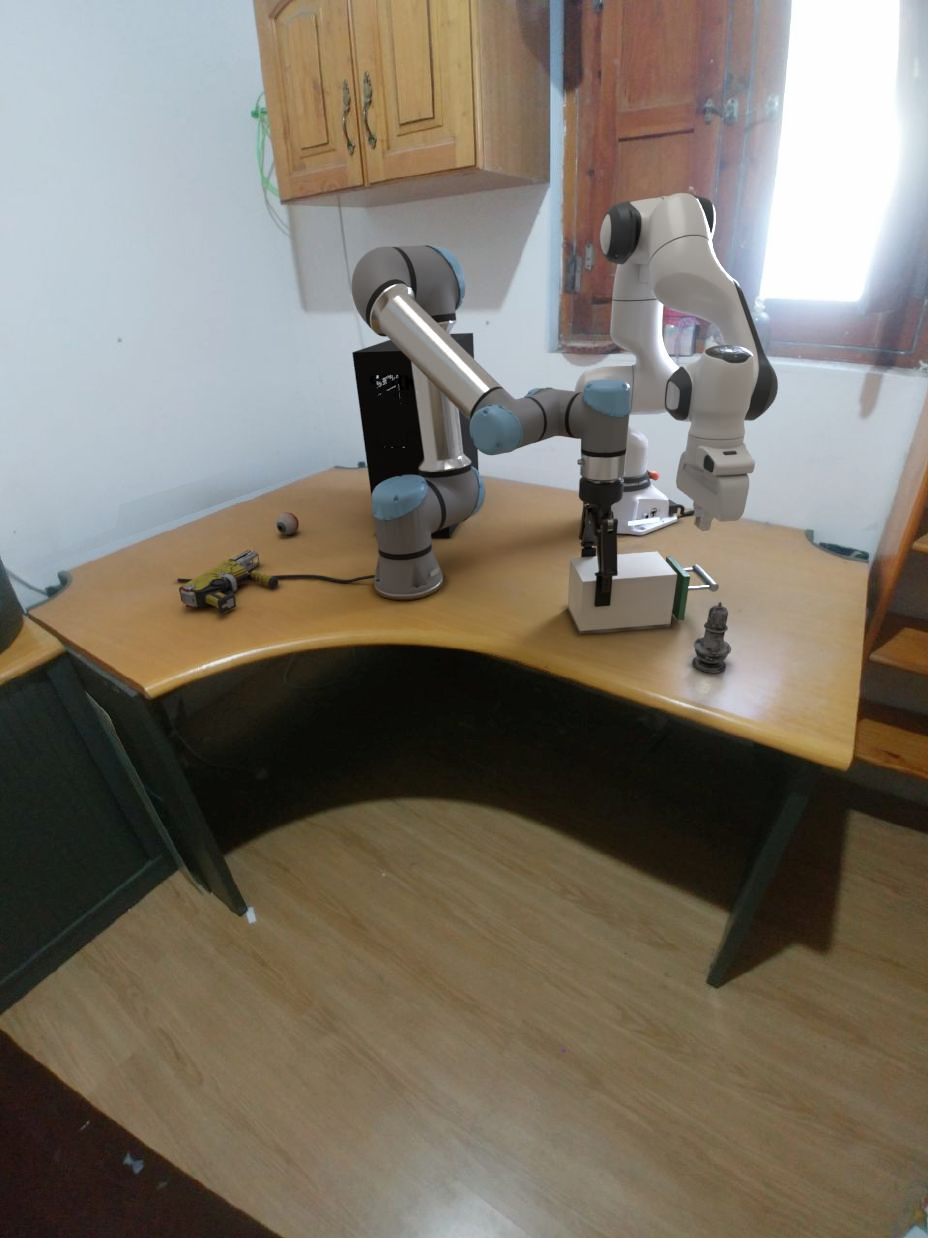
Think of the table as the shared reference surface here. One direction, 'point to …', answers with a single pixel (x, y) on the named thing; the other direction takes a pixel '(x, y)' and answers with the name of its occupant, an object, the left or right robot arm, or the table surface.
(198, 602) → the toy gun
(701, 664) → the dark grey chess piece
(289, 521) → the eyeball
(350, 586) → the table surface
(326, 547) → the table surface
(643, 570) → the cabinet
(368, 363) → the black box
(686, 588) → the drawer
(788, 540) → the table surface
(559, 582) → the table surface
